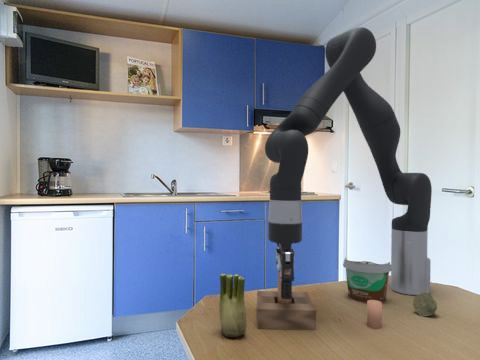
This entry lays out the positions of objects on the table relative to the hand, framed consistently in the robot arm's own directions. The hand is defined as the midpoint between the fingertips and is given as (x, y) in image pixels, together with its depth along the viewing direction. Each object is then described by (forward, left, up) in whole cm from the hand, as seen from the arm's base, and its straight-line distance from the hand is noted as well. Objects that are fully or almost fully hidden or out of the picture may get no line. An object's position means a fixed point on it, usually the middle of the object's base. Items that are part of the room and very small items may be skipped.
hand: (284, 292), depth 80 cm
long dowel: (0, 0, -6) cm, 6 cm away
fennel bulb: (+11, +9, -6) cm, 15 cm away
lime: (-33, -4, -6) cm, 34 cm away
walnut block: (0, 0, -6) cm, 6 cm away
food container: (-22, -13, -6) cm, 26 cm away
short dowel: (-19, +3, -6) cm, 20 cm away
